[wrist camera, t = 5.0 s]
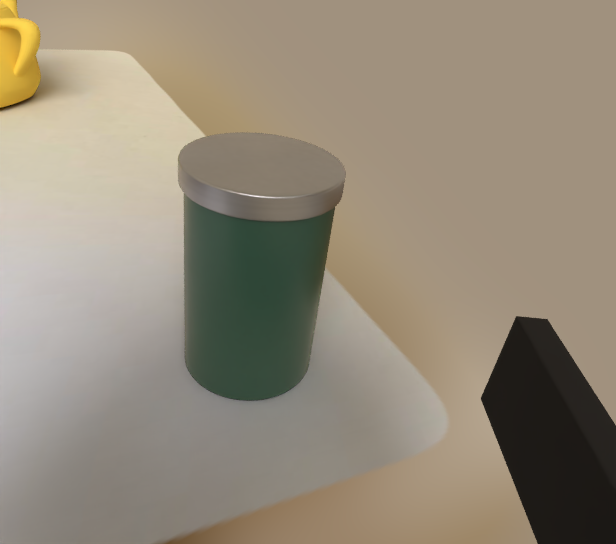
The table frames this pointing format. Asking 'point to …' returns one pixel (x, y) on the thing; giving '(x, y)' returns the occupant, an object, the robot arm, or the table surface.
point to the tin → (254, 258)
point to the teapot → (17, 55)
